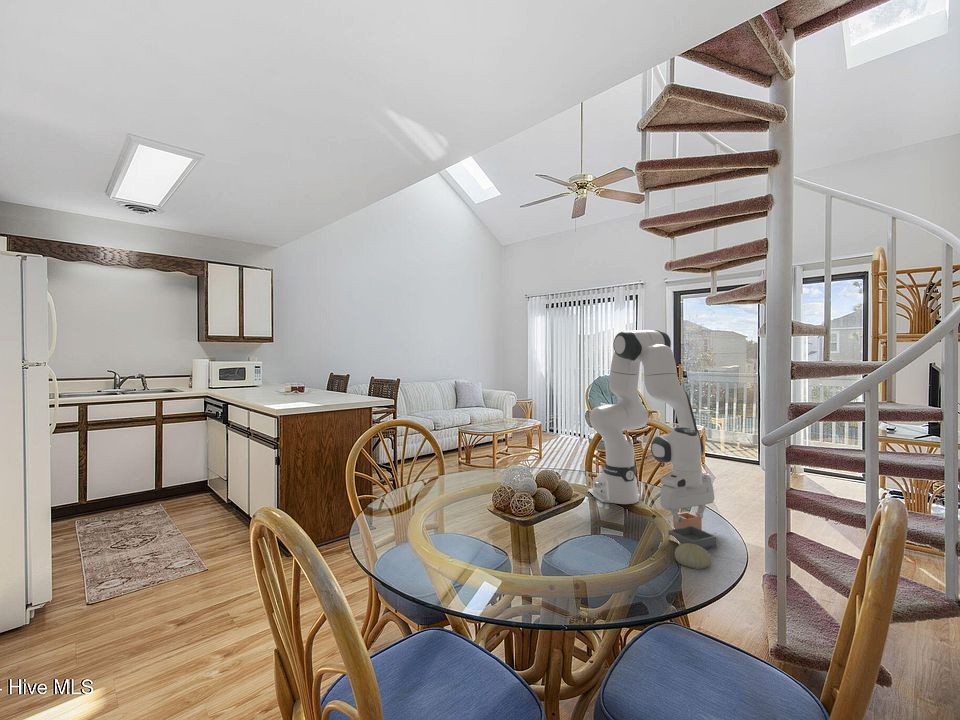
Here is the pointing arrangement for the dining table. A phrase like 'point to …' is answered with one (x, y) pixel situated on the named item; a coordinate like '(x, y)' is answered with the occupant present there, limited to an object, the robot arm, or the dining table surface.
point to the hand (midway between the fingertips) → (688, 519)
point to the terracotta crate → (688, 521)
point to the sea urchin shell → (692, 556)
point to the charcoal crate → (694, 537)
